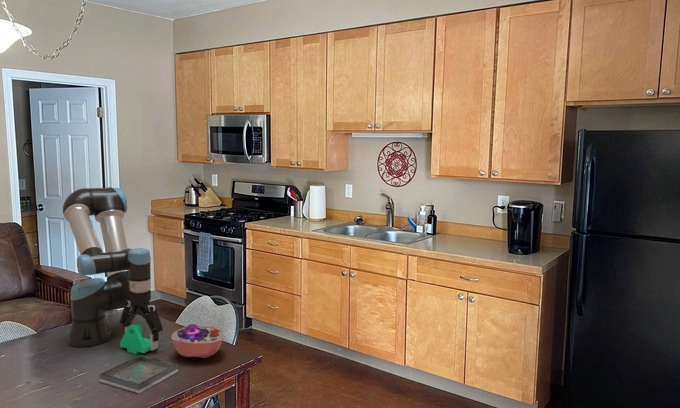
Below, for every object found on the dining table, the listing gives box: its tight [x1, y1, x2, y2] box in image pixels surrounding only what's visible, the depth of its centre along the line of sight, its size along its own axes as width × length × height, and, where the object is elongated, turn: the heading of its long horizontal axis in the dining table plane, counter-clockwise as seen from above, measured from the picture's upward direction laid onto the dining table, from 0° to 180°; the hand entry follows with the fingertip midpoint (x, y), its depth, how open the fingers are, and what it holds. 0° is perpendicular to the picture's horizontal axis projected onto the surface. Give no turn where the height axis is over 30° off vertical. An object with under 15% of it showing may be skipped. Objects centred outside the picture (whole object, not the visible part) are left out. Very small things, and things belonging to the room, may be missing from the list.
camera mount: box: [119, 322, 159, 355], centre depth 185 cm, size 12×8×10 cm, turn 64°
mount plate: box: [99, 354, 179, 395], centre depth 164 cm, size 17×17×2 cm
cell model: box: [170, 323, 224, 359], centre depth 181 cm, size 17×20×11 cm
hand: (141, 346), depth 186 cm, fingers closed on camera mount, 12 cm apart
